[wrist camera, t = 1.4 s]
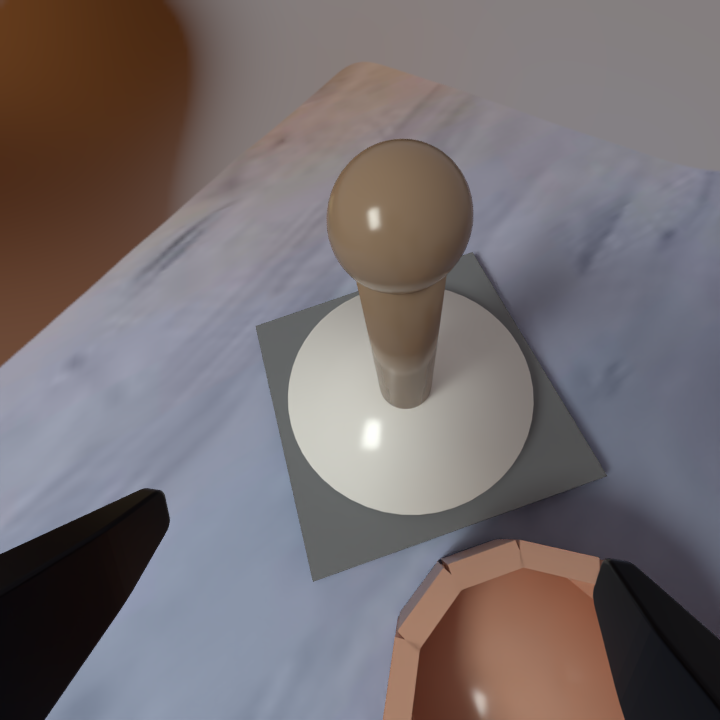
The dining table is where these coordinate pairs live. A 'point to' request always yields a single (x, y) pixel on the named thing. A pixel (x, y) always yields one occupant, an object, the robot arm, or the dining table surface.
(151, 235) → the dining table surface
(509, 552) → the bowl
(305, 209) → the dining table surface
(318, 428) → the peg stand
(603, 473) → the mat
